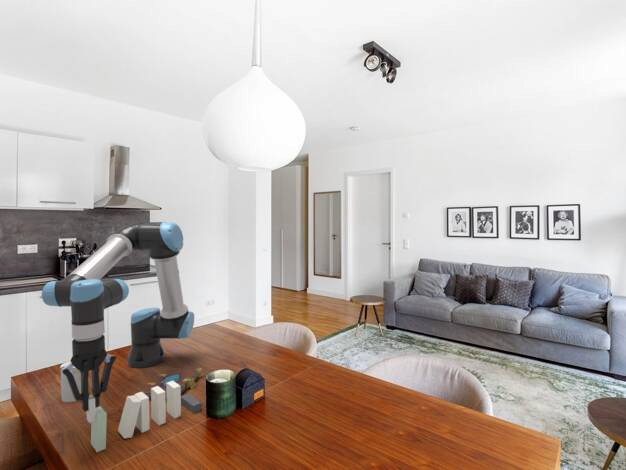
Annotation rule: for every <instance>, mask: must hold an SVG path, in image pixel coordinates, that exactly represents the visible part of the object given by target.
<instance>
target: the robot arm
mask: <svg viewBox="0 0 626 470" xmlns="http://www.w3.org/2000/svg"><path fill="white" fill-rule="evenodd" d="M183 247H184V236H183V230H182V229H181V227H180V225H178V224H177V223H175V222H170V221H169V222H167V221H155V222H154V221H153V222H151V221H145V222H144V221H138V222H133V223H130V224H128V225H125V226H123V227H121V228H120V229H118V230H116V231H115V232H114V233H112V234H111V235H110V236H108V238H107V239H106V243H105V244H103V245H102V246H101V247H100V248H98V249H97V250H96V251H95V252H94V253H93V254H91V255H90V256H89V257H88V258H87V259H86V260H85V261H83V262H82V263H81V264H80V265H78V266H77V267H76V268H75V269H74V270H73V271H71V273H69V274H68V275H67V276H65V278H63V279H62V280H58V279H57V280H55V281H54V280H52V281H50V282H47V283H46V284H45V285H44V286H43V288H42V290H41V299H42V302H43V304H45V305H46V306H49V307H59V308H61V307H70V312H71V338H72V341H71V348H72V349H71V351H72V353H71V354H72V356H71V358H70V360H69V361H70V362H71V363H69V364H68V365H67V366H66V367H62V368H61V370H60V372H61V371H62V372H63V374H64V375H66V377H67V380H68V383H69V385H70V388H71V391H72V394H73V396H74V398H75V399H76V401H75V402H78V401H81V408H82V410H83V412H86V420H87V422H88V423H89V424H91V423H92V422H94V421H96V410H95V408H97V407H99V406H100V397H101V394H102V393H106V391H107V389H108V385H109V381H110V376H111V371H112V369H113V364H114V363H115V361H116V360H117V357H116V356H115V355H114V354H112V353H111V354H109V353H108V351H106V340H105V339H106V338H105V337H106V336H105V331H106V330H105V310H106V309H108V308H110V307H113V306H115V305H118V304H120V303H122V302H123V301H125V300H126V299H127V298H128V296H129V293H130V289H129V286H128V284H127V283H126V281H124V280H123V279H119V278H115V279H112V278H111V279H109V280H105V281H103V280H101V279H102V278H103V277H104V276H105V275H106V274H107V273H108V272H109V271H110V270H111V269H112V268H113V267H114V266H115V265H116V264H118V262H120V260H121V259H122V258H124V257H127V256H129V255H130V254H131V253H133V252H148V257H149V259H152V260H153V261H154V266H155V267H154V268H155V273H156V278H157V282H158V284H157V285H158V289H159V295H160V301H161V306H162V309H160V307H157V306H156V307H147V308H143V309H140V310H137V311H135V312H133V313H132V314H131V316H130V332H131V333H130V337H131V338H130V339H131V347H130V350H129V353H128V355H127V361H126V363H127V366H128V367H130V368H135V369H137V368H139V369H140V368H148V367H152V366H155V365H158V364H160V363H162V362H163V361H164V360H165V358H166V356H165V351H164V348H163V345H162V343H161V339H167V340H168V339H178V340H180V339H187V338H189V336H190V335H191V334H192V331H193V329H194V325H195V313H194V312H193V311H189V306H188V305H187V304H186V303H184V296H183V292H182V285H181V284H182V283H181V278H180V271H179V270H180V269H179V267H178V266H179V264H178V259H177V258H178V256H179V254H180V253H181V250H182V249H183ZM103 362H104V365H103V370H102V375H101V380H100V366H101V365H102V363H103ZM73 366H74V367H76V368H77V369H78V370H79V371H80V374H81V394H80V393H79V390H78V387H77V384H76V382H75V379H74V376H73V374H72V372H73ZM89 372H91V393H92V394H90V388H89V387H90V385H89V384H88V381H89V375H90V374H89Z"/></svg>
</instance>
